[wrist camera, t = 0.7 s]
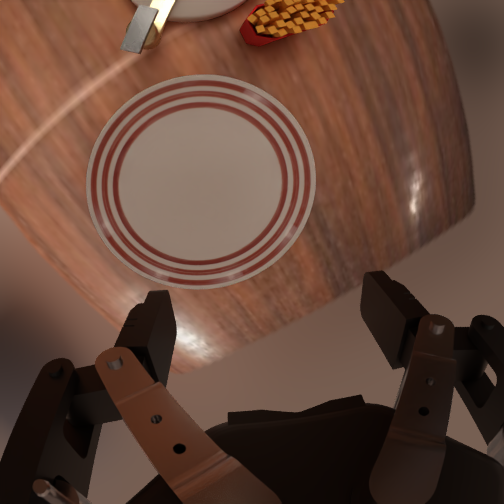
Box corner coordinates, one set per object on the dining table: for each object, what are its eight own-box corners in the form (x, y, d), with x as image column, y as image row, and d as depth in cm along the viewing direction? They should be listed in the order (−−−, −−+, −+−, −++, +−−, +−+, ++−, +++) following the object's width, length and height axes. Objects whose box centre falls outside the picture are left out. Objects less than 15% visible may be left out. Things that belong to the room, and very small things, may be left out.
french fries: (291, 3, 26) (336, -22, 17) (305, 31, 29) (355, 17, 19) (224, 27, 27) (242, 3, 17) (239, 56, 29) (264, 45, 19)
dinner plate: (204, 307, 47) (206, 322, 45) (54, 199, 34) (45, 209, 31) (344, 185, 41) (355, 194, 38) (202, 28, 27) (204, 23, 24)
